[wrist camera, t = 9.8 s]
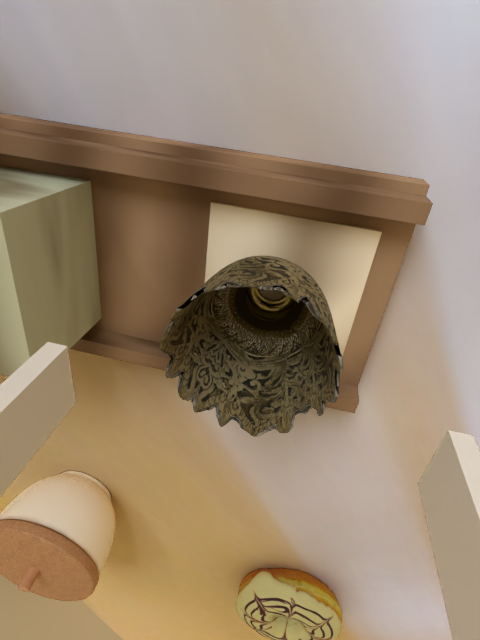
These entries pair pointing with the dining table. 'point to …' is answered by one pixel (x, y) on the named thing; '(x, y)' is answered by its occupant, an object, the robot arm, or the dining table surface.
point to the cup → (255, 346)
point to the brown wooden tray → (181, 238)
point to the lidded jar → (57, 536)
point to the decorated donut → (288, 605)
